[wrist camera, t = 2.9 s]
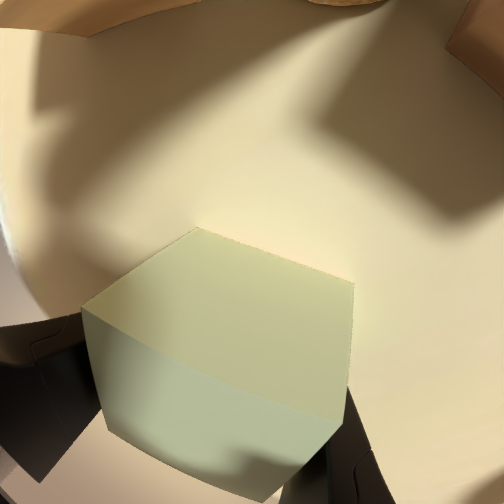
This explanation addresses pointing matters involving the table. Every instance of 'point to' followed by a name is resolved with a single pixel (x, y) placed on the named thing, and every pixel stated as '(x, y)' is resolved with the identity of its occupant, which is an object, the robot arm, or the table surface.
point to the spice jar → (343, 2)
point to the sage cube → (223, 361)
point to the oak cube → (78, 14)
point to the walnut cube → (481, 41)
